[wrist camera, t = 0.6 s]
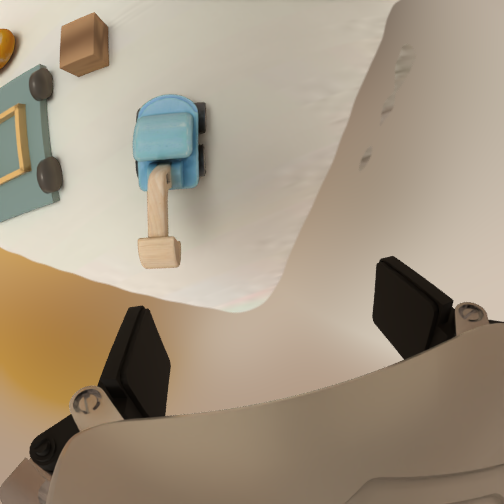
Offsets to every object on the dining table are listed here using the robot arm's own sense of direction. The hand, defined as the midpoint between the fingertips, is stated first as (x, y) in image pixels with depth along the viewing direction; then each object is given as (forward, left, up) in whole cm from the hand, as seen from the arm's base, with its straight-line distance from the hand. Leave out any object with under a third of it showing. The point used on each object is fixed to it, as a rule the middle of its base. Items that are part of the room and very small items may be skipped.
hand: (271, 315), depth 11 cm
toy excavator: (-6, -7, -29) cm, 30 cm away
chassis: (-16, -33, -28) cm, 46 cm away
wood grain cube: (-26, -17, -29) cm, 42 cm away
